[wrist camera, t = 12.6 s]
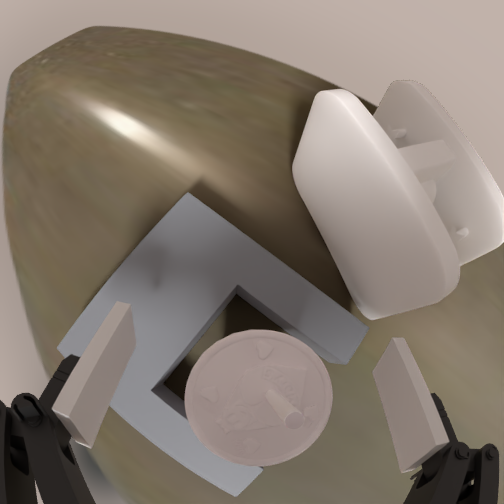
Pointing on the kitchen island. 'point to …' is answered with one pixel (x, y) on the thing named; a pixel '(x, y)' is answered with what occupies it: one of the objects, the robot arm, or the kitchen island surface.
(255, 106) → the kitchen island surface
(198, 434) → the smoothie
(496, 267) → the kitchen island surface
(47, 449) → the robot arm
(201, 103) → the kitchen island surface
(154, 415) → the notched board
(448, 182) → the cable organizer
